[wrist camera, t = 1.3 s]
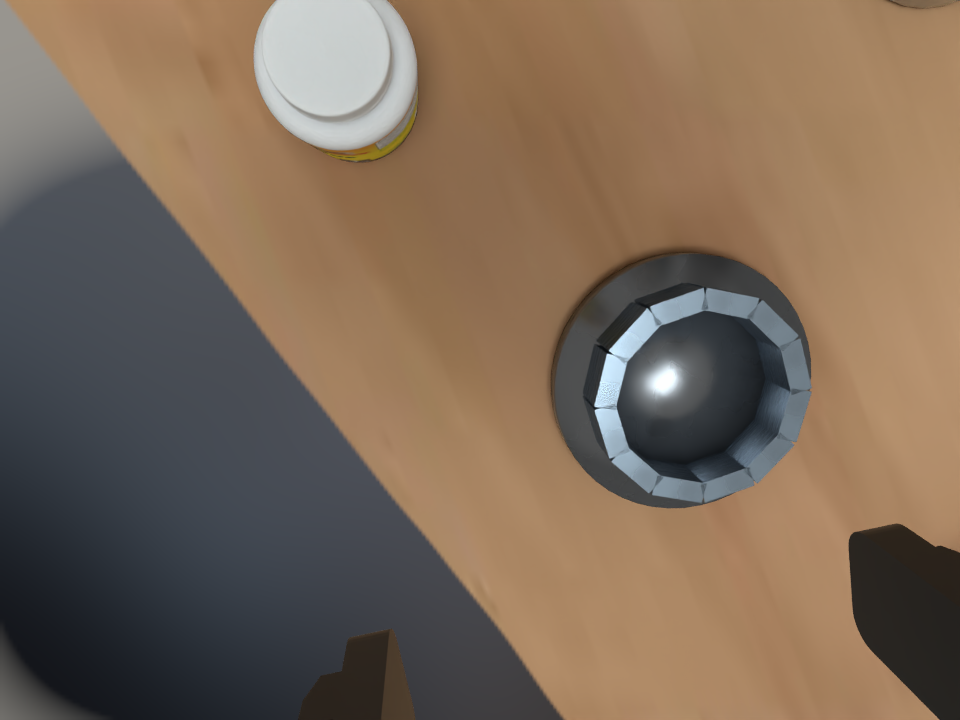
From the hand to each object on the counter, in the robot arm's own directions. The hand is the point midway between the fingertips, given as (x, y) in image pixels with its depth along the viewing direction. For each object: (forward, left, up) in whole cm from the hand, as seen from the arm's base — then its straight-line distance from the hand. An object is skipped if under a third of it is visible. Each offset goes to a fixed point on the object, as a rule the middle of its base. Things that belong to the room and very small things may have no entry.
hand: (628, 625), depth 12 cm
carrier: (0, +9, -23) cm, 25 cm away
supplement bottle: (-10, -9, -23) cm, 27 cm away
